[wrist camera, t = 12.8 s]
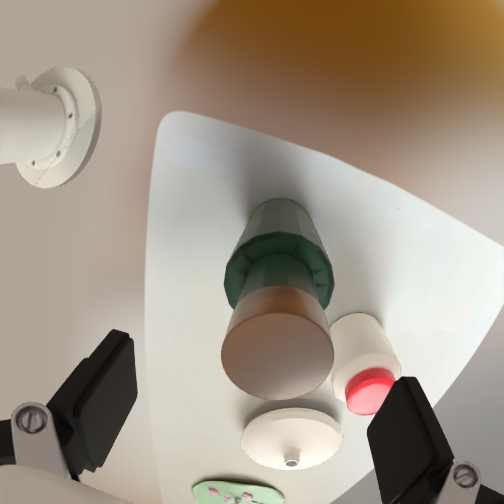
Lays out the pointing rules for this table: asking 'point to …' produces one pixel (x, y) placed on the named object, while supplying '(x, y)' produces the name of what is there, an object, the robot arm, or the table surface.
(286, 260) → the bottle
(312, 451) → the vase
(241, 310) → the stopper
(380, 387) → the pill bottle
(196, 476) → the table surface
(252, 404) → the table surface
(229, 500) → the plant
